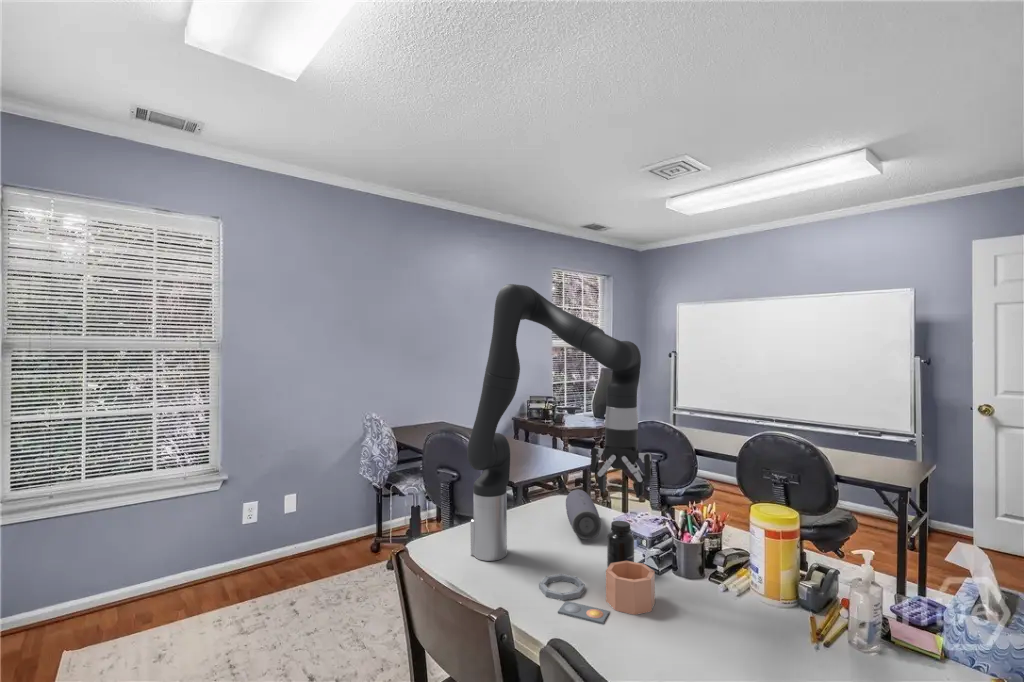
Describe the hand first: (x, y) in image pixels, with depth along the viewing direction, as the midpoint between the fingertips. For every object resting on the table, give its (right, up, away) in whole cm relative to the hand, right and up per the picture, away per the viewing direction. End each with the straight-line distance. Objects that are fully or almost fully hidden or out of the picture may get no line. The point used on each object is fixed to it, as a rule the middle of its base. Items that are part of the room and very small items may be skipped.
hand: (620, 494), depth 119 cm
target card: (-10, -23, -10) cm, 27 cm away
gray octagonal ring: (-14, -23, +1) cm, 27 cm away
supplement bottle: (+2, -23, +11) cm, 26 cm away
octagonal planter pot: (+1, -23, -5) cm, 23 cm away
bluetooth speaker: (-3, -23, +39) cm, 46 cm away
